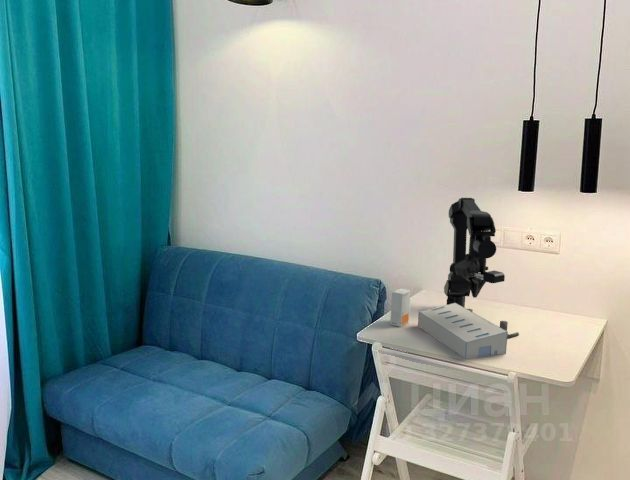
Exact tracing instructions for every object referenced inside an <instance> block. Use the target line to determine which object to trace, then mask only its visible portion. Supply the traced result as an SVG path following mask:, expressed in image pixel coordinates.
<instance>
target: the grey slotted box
mask: <svg viewBox="0 0 630 480" xmlns="http://www.w3.org/2000/svg"><path fill="white" fill-rule="evenodd" d="M468 309H469V308H466V307H465V308H464V307H462V306H460V305H459V304H457V303H452V304H448V305H447V304H445V305H441V306H437V307H432V308H429V309H423V310H420V311H418V321H417V327H419V328H421V329H422V330H423V331H425V332H426V333H427V334H429V335H430V336H431V337H434V338H435V339H436V340H438V342H441V343H442V344H443V345H445V346H446V347H448V348H449V349H451V350H452V351H454V352H455V353H456V354H458V355H459V356H461V357H462V358H464V359H466V360H467V359H473V358H479V357H487V356H488V357H489V356H496V355H497V356H499V355H503V354H504V355H505V354H507V346H508V345H507V344H508V338H507V334H509V333H508V330H507V331H506V330H504V329H502V328H500V326H498V325H496V324H495V323H492V322H491V321H489V320H487V319H486V318H484V317H482V316H481V315H479V314H477V313H475V312H471V311H469V310H468Z"/></svg>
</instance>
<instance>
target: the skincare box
mask: <svg viewBox="0 0 630 480" xmlns="http://www.w3.org/2000/svg"><path fill="white" fill-rule="evenodd" d="M410 299H411V289H410V290H409V289H406V288H401V287H400V288H398V289H395V290H394V291H391V305H390V325H391V326H395V327H399V328H400V327H403V326H405V325H406V324H409V319H410V318H409V317H410V302H411V300H410Z"/></svg>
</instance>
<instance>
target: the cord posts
mask: <svg viewBox="0 0 630 480" xmlns="http://www.w3.org/2000/svg"><path fill="white" fill-rule="evenodd" d="M467 309H468V310H469V311H471V312H473V309H472V308H467ZM473 313H474V312H473ZM508 324H509V322H508V321H506V320H499V327H500V328H502V329H504V330H506V331H508ZM519 335H520V332H518V331H517V332H514V333H510V334H509V333H508V334H507V339H510V338H514V337H517V336H519Z"/></svg>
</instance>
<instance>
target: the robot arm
mask: <svg viewBox="0 0 630 480" xmlns="http://www.w3.org/2000/svg"><path fill="white" fill-rule="evenodd" d="M475 201H476V199H475V198H472V197H461V198H458V200H457V201H455V202H454V203H452V204H451V205H450V207H449V209H448V218H449V223H450V225H451V226H452V228H453V248H452V249H453V252H452V263H451V264H450V266H449V273H448V275H447V280H446V282H445V284H444V286H443V293H444V294H445V296H446V297H447V298H446V305H448V304H452V303H457V304H459V305H460V306H462V307H464V308H466V307H465V306H466V305H465V304H466V297H470V294H471V295H472V298H478V296H479V294H480V292H481V290H482V288H483V287H484V285H485V284H486V283H488V284H489V283H490V284H498V283H502V282H503V283H504V282H505V279H506V278H505V274H504V272H502V271H499V270H490V271H489V266H487V259H490V258H492V257H493V256H495V254H496V253H497V246H496V244H495V242H493V241H492V239H491V238H492V237H495V236H496V225H495V221H494V219H493V217H492V216H491V214H490V213H489V212H487V211H484V210H481V208H480V207H479V206H478V204H477V203H476V202H475ZM467 232H468V235H469V243H468V244H469V245H468V253H467V238H468V237H467Z"/></svg>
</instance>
